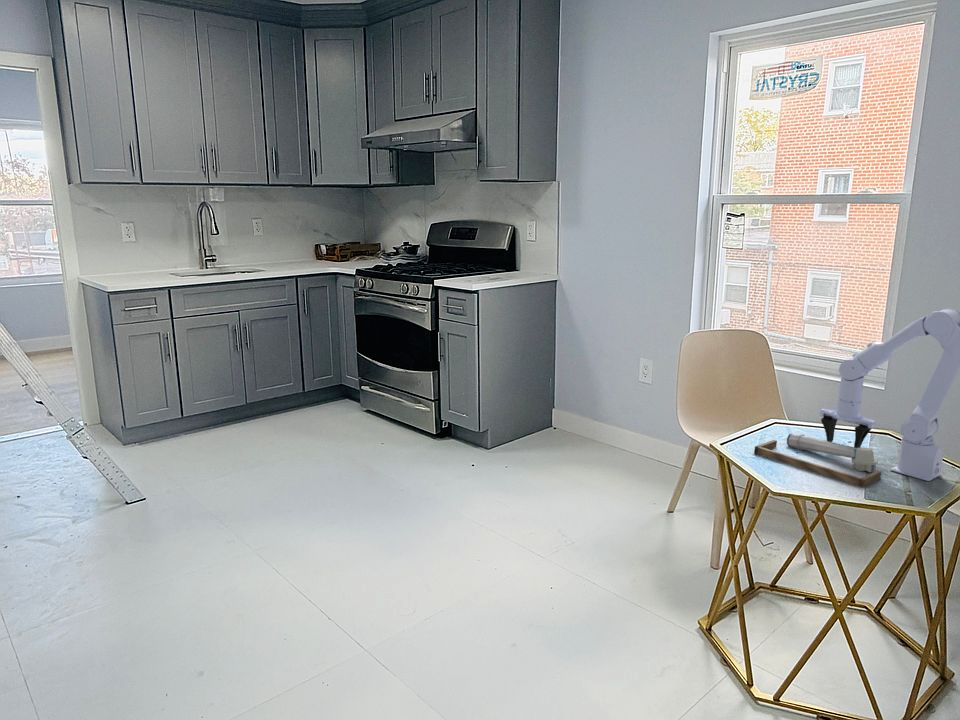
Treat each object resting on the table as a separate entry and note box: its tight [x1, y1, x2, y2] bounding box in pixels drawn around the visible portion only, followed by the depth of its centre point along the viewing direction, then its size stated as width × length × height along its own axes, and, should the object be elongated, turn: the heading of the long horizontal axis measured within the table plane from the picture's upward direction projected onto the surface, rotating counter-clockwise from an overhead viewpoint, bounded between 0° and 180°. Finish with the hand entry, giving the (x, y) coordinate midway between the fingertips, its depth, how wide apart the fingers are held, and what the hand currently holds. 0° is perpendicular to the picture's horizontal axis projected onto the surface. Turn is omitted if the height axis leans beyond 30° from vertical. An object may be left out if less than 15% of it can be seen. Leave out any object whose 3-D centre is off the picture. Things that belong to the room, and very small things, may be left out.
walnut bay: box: [753, 439, 883, 488], centre depth 188 cm, size 30×10×2 cm, turn 37°
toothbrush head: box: [786, 433, 879, 473], centre depth 193 cm, size 5×7×25 cm
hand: (843, 445), depth 197 cm, fingers open, 7 cm apart
